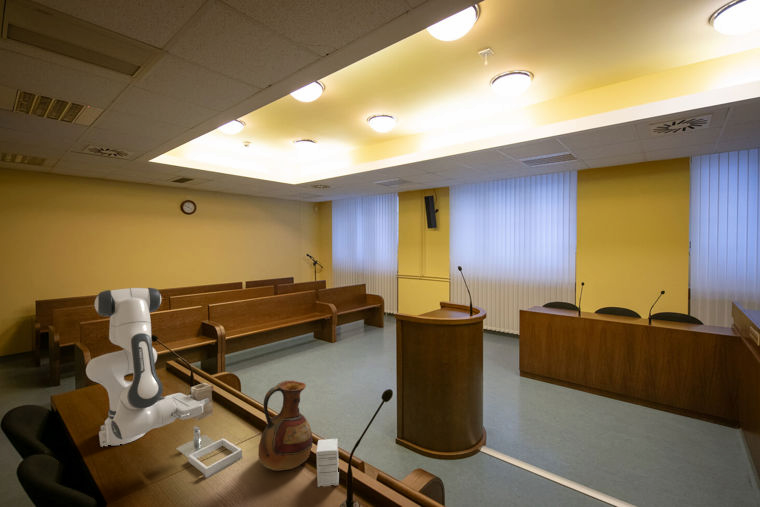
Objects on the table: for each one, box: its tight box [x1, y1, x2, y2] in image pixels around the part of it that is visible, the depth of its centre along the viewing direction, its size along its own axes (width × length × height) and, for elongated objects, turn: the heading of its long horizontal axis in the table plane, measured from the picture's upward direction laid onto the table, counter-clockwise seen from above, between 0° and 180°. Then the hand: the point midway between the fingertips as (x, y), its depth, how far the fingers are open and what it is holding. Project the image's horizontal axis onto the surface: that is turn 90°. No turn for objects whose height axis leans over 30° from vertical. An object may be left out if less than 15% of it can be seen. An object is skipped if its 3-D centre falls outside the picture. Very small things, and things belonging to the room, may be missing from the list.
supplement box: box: [316, 438, 340, 488], centre depth 120 cm, size 7×7×13 cm
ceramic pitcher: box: [258, 380, 313, 471], centre depth 131 cm, size 20×20×30 cm
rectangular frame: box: [187, 437, 243, 479], centre depth 132 cm, size 14×14×4 cm
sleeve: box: [190, 382, 214, 421], centre depth 138 cm, size 6×7×12 cm
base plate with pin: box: [175, 425, 217, 458], centre depth 141 cm, size 12×12×9 cm
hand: (203, 397), depth 138 cm, fingers closed on sleeve, 6 cm apart
